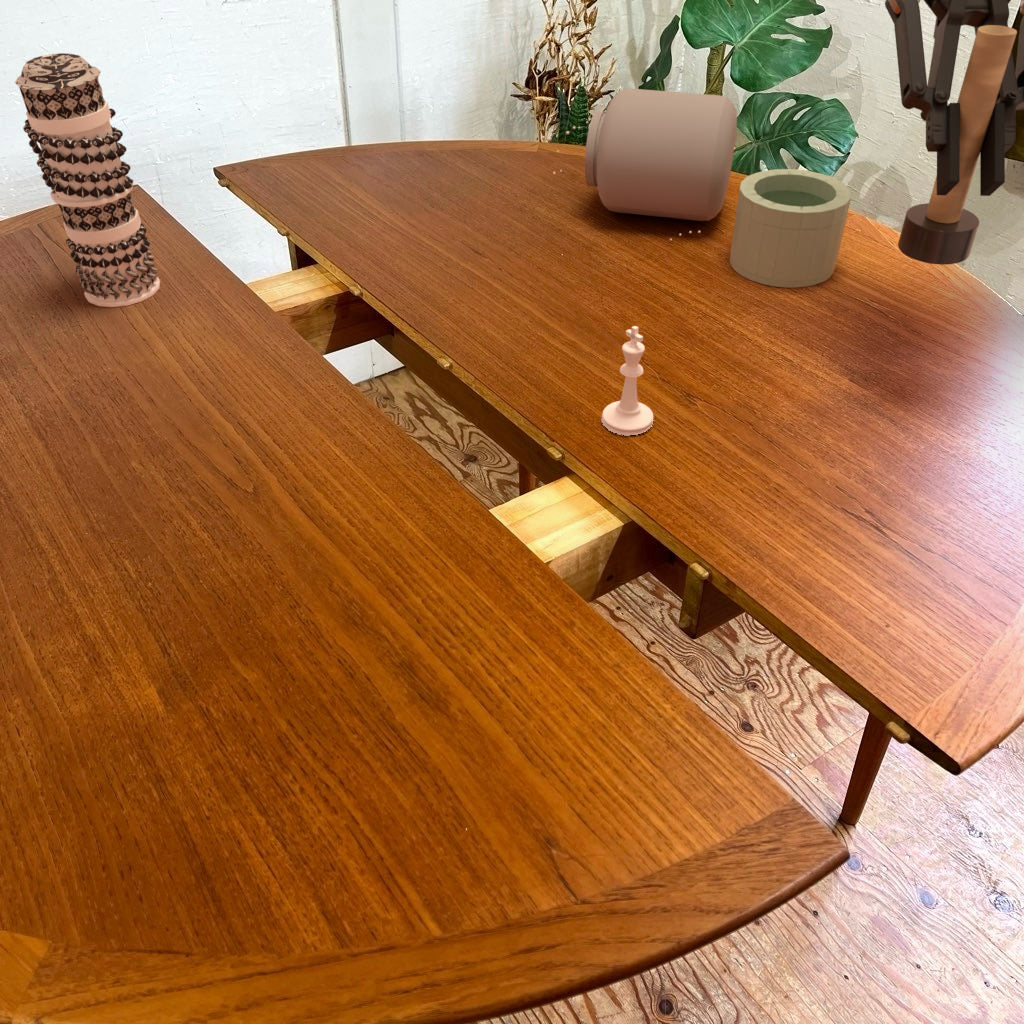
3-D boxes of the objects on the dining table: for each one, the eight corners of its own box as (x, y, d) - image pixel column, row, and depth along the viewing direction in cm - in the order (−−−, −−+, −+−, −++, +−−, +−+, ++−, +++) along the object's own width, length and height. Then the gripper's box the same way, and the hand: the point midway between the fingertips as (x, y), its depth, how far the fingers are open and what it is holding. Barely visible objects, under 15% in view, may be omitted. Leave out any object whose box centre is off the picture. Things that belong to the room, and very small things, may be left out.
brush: (965, 238, 87) (1033, 21, 75) (972, 267, 82) (1046, 42, 71) (895, 232, 88) (952, 17, 76) (899, 261, 84) (960, 38, 72)
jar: (700, 225, 111) (506, 163, 117) (700, 274, 125) (527, 216, 131) (762, 80, 112) (567, 25, 118) (755, 145, 127) (582, 93, 132)
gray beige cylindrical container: (834, 246, 118) (850, 173, 112) (834, 292, 109) (852, 216, 103) (733, 236, 120) (743, 165, 114) (725, 281, 111) (736, 206, 105)
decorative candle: (77, 280, 113) (1, 54, 97) (158, 265, 116) (96, 42, 100) (84, 315, 107) (3, 79, 91) (169, 298, 110) (105, 66, 93)
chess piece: (627, 399, 93) (634, 307, 86) (664, 422, 90) (675, 328, 84) (590, 419, 91) (595, 326, 84) (627, 443, 88) (635, 348, 81)
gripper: (1046, -58, 83) (1047, 208, 81) (859, -58, 83) (856, 205, 82) (1094, -122, 75) (1096, 170, 73) (888, -121, 76) (885, 167, 74)
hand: (970, 188), depth 78 cm, fingers closed on brush, 3 cm apart
